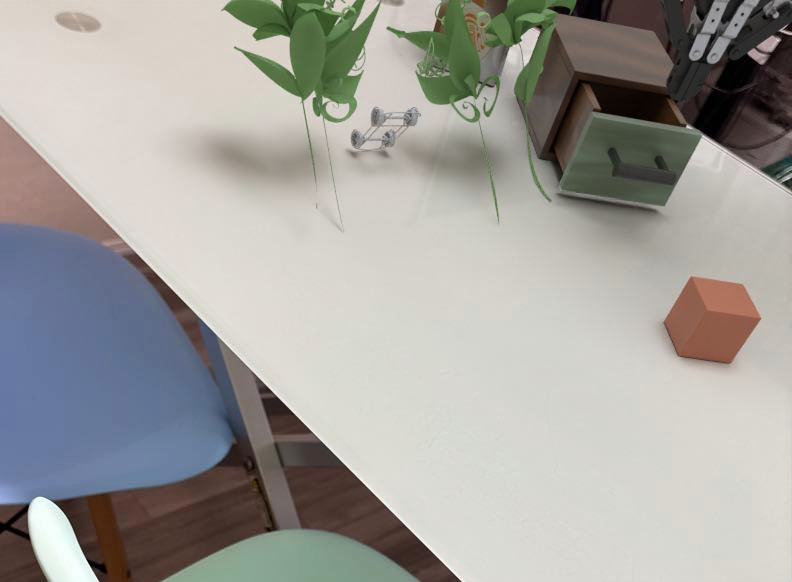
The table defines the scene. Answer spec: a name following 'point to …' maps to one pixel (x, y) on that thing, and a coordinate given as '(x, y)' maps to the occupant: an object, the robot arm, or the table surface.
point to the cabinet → (591, 70)
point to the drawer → (623, 143)
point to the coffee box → (479, 35)
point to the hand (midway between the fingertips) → (677, 97)
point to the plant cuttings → (341, 46)
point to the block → (711, 319)
